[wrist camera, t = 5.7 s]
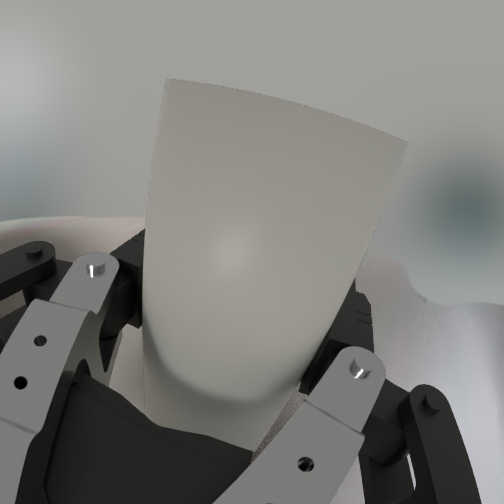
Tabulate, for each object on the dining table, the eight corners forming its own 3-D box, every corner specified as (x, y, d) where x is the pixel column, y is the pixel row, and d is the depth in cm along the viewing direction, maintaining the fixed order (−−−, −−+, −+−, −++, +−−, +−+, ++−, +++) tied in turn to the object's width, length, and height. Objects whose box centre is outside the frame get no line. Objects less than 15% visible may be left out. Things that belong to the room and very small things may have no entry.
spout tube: (273, 445, 13) (430, 152, 6) (193, 502, 9) (328, 112, 3) (208, 381, 16) (277, 98, 9) (129, 421, 12) (126, 75, 5)
